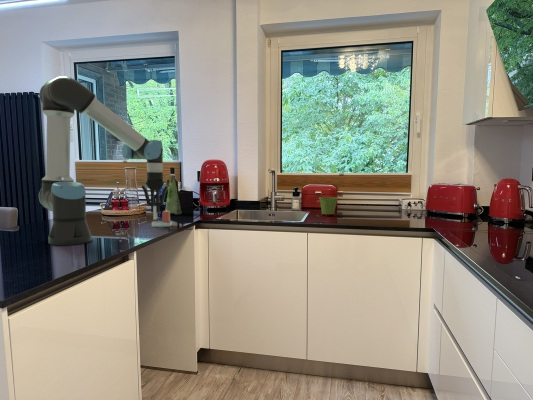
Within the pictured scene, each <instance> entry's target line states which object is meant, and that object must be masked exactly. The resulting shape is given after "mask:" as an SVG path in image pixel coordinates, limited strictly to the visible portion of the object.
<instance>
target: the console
mask: <svg viewBox="0 0 533 400" xmlns="http://www.w3.org/2000/svg"><path fill="white" fill-rule="evenodd" d="M172 223H173V222H172V221H171V220H170V221H169V222H162V220H159V221H158V220H153V221H152V222H151V227H155V228H156V227H157V228H158V227H161V228H163V227H166V228H169V227H172V225H173V224H172Z"/></svg>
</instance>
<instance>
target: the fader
mask: <svg viewBox="0 0 533 400" xmlns="http://www.w3.org/2000/svg"><path fill="white" fill-rule="evenodd" d="M161 213H162V214H161V216H162V217H161V218H162V220H161V221H162V222H169V221H171V214H170V211H167V210H166V211H165V210H162V212H161Z"/></svg>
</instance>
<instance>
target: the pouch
mask: <svg viewBox="0 0 533 400" xmlns="http://www.w3.org/2000/svg"><path fill="white" fill-rule="evenodd" d="M167 186H168V189H167V193H166V195H167V196H166V197H167V198H166V204H165V209H164V211H166V210H167V211H170V215H181V214H182V209H181V203H180V199H179V198H180V197H179V194H178V189H177V188H178V187H177V184H176V178H175V176H174V174H170V173H169V175H168V183H167Z"/></svg>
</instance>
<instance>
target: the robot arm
mask: <svg viewBox="0 0 533 400" xmlns="http://www.w3.org/2000/svg"><path fill="white" fill-rule="evenodd" d="M38 96H39V100H40V102H41V104H42V111H41V112H42V113H43V114H44V115H45V117H46V143H45V144H46V145H45V147H46V151H45V152H46V155H45V157H46V159H45V162H46V165H45V167H46V169H45V170H46V173H45V174H46V175H44V177H42V178H41V188H40V190H39V192H38V200H39V203H40V204H41V205H42V207H43V208H45V210H48V211H49V212H52V225H51V228H50V232H49V234H48V245H52V246H72V245H73V246H74V245H80V244H86V243H89V242H91V241H92V234H91V230H90V227H89V225H88V222H87V205H86V203H87V202H86V195H87V194H86V193H87V192H86V187H85V185H84V183H82V182H77V181H74V179H73V178H72V177H71V176H70V175H71V174H70V173H71V172H70V171H71V169H70V168H71V167H70V166H71V118H73V117H74V116H75V111H76V112H77V113H79V114H84V115H85V116H87V117H89V118H90V119H91V120H92V121H94V122H95V123H96V124H98V125H99V126H100V127H102V128H103V129H105V131H107V132H108V133H110V134H111V135H113V137H115V138H117V140H119V141H120V142H122V143H123V144H122V146H121V156H122V157H123V159H125V160H146V171H147V172H146V183H145V184H144V185H141V189H142V190H143V194H144V197H145V202H146V205H148V206H150V211H151V213H152V215H153V218H152V219H153V220H158V213H160V206H162V205H164V202H165V197H166V195H167V191H168V188H169V185H166V184H165V182H164V173H163V170H164V166H163V165H164V161H163V158H164V157H163V156H164V151H163V150H164V147H163V142H162V140H159V139H147V138H146V137H144V136H143V135H142V134H141V133H140V132H138V131H137V130H136V129H135V128H133V127H132V126H131V125H130V124H129V123H127V122H126V121H125V120H124V119H122V118H121V117H119V116H118V115H117V114H116V113H115V112H113V111H112V110H111V109H110V108H108V107H107V106H106V105H105V104H103V103H102V102H101V101H100V100H98V99H97V95H96V94H95V93H94V92H93V91H91V90H90V89H89V88H87V87H86V86H85V85H84V84H82V83H81V82H79V81H78V80H76V79H74V78H72V77H70V76H58V77H56V78H53V79H50V80H48V81H46V82H45V83H44V84H43V85H42V86H41V87H40V89H39V95H38ZM148 189H149V190H150V195H149V192H148ZM161 189H163V190H162V194H161V198H160V192H161ZM155 198H156V199H155Z"/></svg>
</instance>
